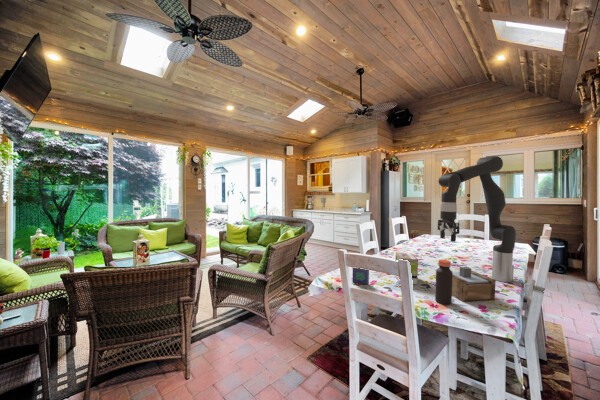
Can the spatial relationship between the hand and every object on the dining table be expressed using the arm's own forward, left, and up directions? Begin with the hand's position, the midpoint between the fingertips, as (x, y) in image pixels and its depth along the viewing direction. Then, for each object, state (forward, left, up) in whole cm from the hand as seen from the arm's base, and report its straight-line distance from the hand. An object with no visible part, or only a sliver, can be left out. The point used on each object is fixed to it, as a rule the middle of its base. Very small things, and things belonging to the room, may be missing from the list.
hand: (447, 239), depth 136 cm
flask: (+46, -9, -27) cm, 54 cm away
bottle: (+14, +17, -27) cm, 35 cm away
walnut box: (-4, +9, -26) cm, 28 cm away
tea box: (+16, -13, -27) cm, 34 cm away
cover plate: (-4, +9, -18) cm, 21 cm away
